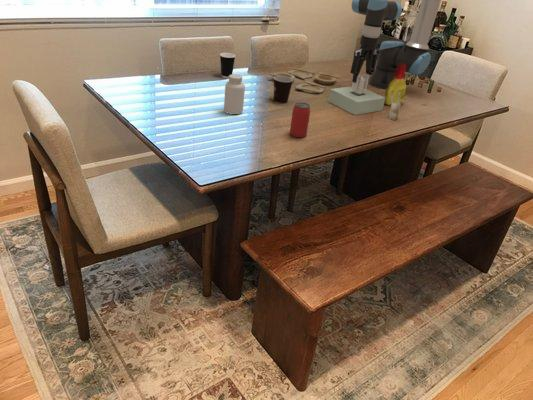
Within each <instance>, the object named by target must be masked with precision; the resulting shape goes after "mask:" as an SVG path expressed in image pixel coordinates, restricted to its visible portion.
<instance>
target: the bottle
mask: <svg viewBox="0 0 533 400" xmlns="http://www.w3.org/2000/svg"><path fill="white" fill-rule="evenodd" d="M405 70H406V64H405V63H399V64H398V66H397V68H396V71H395V74H394V77H393V79H392V81H391V82H390V83H389V84H388V86H387V88H386V89H385V93H384V97H385V102H384V105H387V106H391V104H392V102H399V103H401V104H402V103H403V102H404V98H405V95H406V90H407V85H406V81H405V75H406V74H405V73H406V72H405Z"/></svg>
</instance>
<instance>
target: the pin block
mask: <svg viewBox="0 0 533 400" xmlns="http://www.w3.org/2000/svg"><path fill="white" fill-rule="evenodd" d="M327 101H328V102H329V103H331V104H332V105H334V106H336V107H338V108H340V109H342V110H344V111H346V112H347V113H349V114H352V115H353V114H354V115H353V116H356V115H357V116H358V115H363V114H369V113H374V112H381V111H383V110H384V106H385V103H384V102H385V96H382V95H380V94H378V93H375V92H373V91H371V90H369V89H367V88H366V89H363V93H362V96H356V95H354V89H352V85H351V86H344V87H343V86H342V87H337V88H330V90H329V94H328V99H327Z"/></svg>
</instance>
